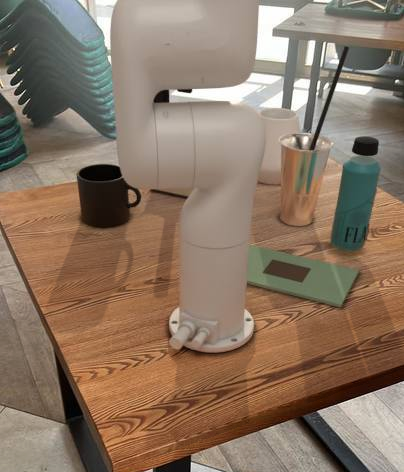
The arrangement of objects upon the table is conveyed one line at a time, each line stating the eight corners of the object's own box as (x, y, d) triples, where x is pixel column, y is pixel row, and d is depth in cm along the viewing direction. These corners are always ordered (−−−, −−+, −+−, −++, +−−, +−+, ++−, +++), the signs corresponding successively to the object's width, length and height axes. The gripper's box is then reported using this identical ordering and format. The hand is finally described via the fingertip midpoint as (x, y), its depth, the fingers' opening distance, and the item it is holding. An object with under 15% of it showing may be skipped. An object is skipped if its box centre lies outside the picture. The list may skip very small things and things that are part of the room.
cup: (263, 192, 124) (269, 126, 116) (232, 171, 133) (235, 109, 125) (313, 181, 129) (322, 117, 121) (279, 162, 138) (285, 101, 130)
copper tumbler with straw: (323, 207, 119) (349, 45, 100) (327, 232, 110) (356, 59, 91) (271, 204, 120) (287, 43, 101) (270, 228, 111) (288, 57, 92)
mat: (340, 307, 90) (341, 303, 90) (224, 277, 96) (224, 274, 96) (358, 272, 98) (359, 269, 98) (250, 247, 105) (250, 244, 104)
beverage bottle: (337, 261, 101) (358, 147, 89) (321, 243, 106) (339, 133, 94) (370, 256, 103) (396, 144, 90) (353, 240, 108) (375, 131, 95)
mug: (137, 230, 109) (134, 184, 104) (76, 226, 110) (70, 180, 105) (146, 209, 117) (144, 165, 111) (89, 205, 118) (84, 162, 112)
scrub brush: (189, 200, 120) (189, 148, 114) (148, 191, 124) (146, 141, 117) (200, 192, 124) (200, 141, 117) (159, 183, 127) (157, 133, 120)
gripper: (175, -12, 108) (176, 85, 119) (128, 0, 96) (134, 107, 107) (211, -9, 106) (209, 90, 117) (167, 4, 94) (169, 113, 105)
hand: (173, 98), depth 112 cm, fingers open, 9 cm apart
